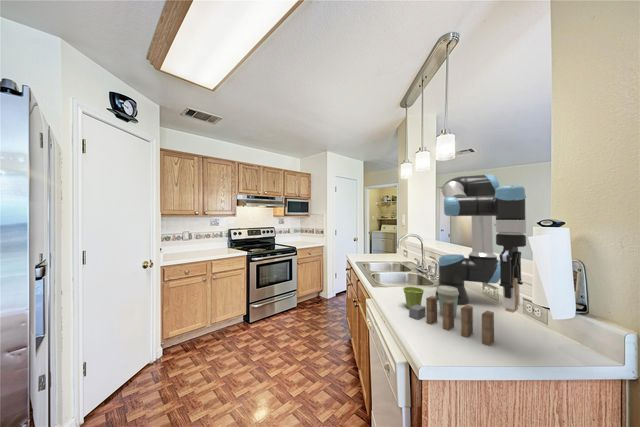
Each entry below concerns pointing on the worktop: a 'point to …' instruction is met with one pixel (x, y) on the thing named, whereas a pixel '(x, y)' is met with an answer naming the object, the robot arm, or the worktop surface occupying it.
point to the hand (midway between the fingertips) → (511, 305)
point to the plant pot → (413, 296)
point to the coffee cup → (447, 297)
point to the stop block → (417, 312)
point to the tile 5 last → (431, 309)
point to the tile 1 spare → (515, 286)
